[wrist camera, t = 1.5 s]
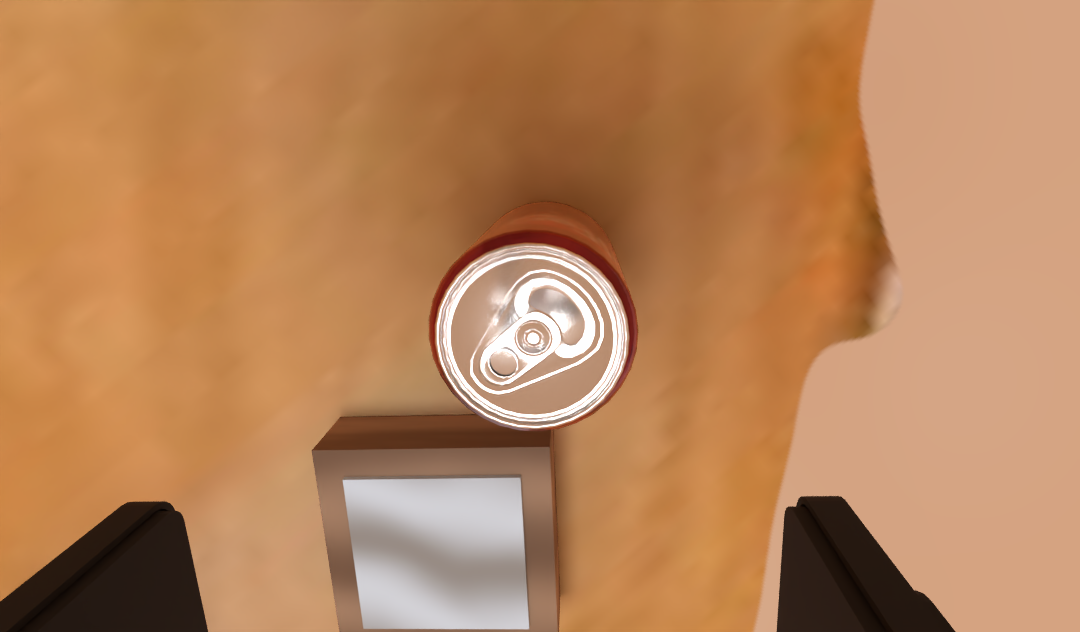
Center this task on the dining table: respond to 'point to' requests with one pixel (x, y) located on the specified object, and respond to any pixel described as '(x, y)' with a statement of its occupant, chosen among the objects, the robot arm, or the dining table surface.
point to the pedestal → (439, 524)
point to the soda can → (535, 320)
